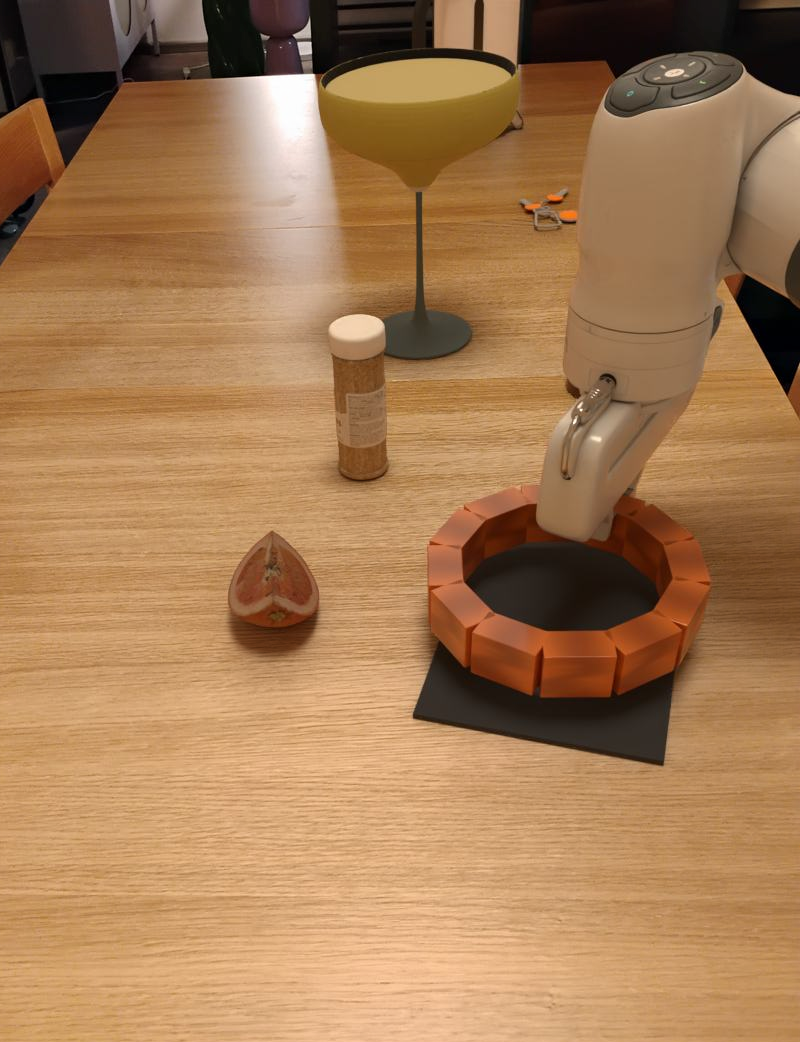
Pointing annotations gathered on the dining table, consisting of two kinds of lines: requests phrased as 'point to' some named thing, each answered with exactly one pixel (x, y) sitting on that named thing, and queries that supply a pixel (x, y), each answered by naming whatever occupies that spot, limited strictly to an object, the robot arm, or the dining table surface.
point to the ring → (565, 655)
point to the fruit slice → (273, 585)
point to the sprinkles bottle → (360, 394)
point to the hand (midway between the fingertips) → (609, 520)
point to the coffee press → (471, 27)
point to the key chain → (540, 210)
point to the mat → (556, 605)
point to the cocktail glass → (419, 145)
